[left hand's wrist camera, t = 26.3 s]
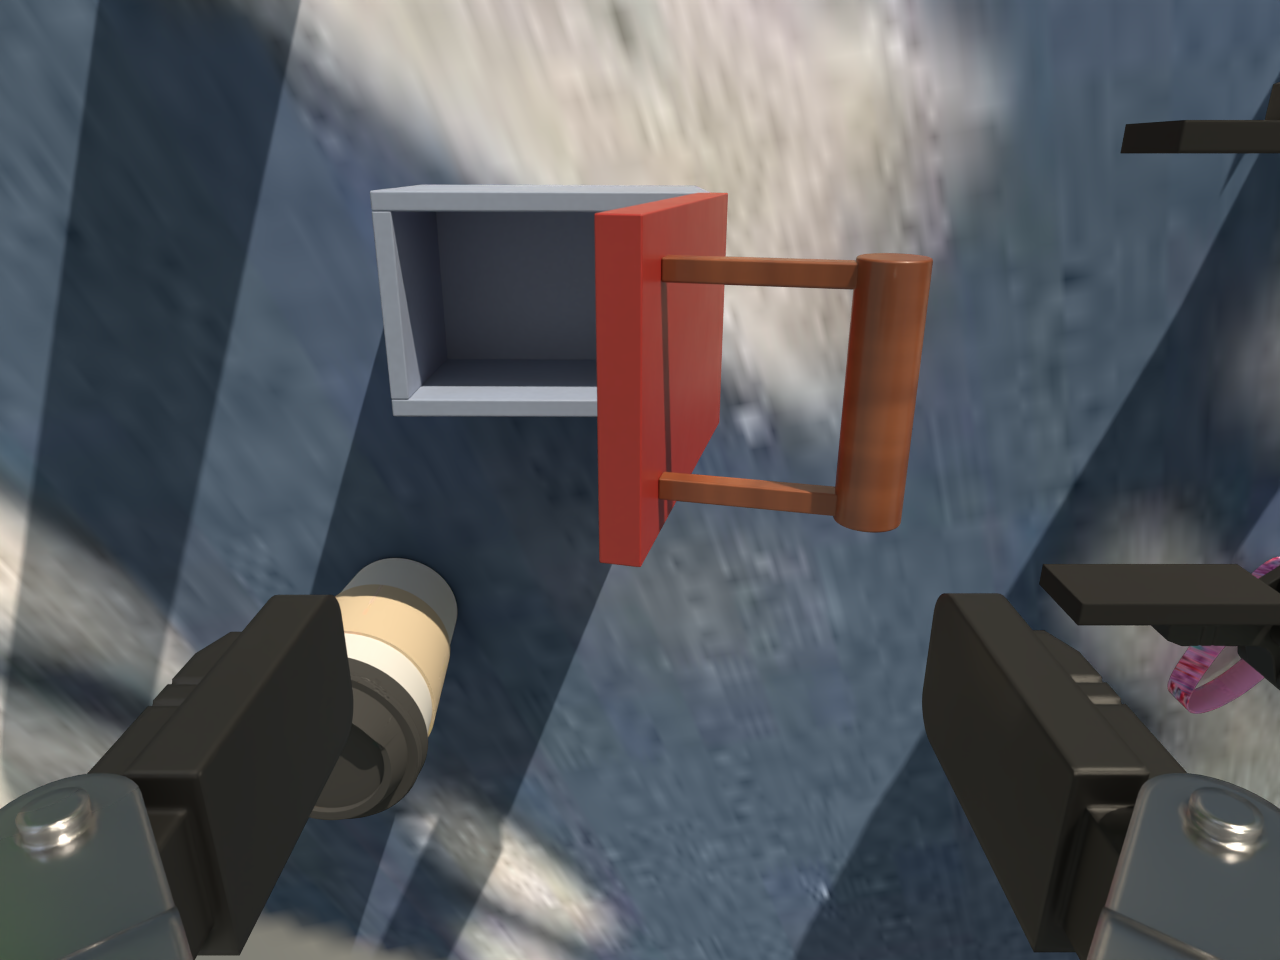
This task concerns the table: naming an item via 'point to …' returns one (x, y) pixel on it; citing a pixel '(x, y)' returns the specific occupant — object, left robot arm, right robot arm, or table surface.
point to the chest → (493, 295)
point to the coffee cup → (389, 683)
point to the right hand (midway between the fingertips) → (1098, 387)
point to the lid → (691, 372)
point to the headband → (1222, 686)
